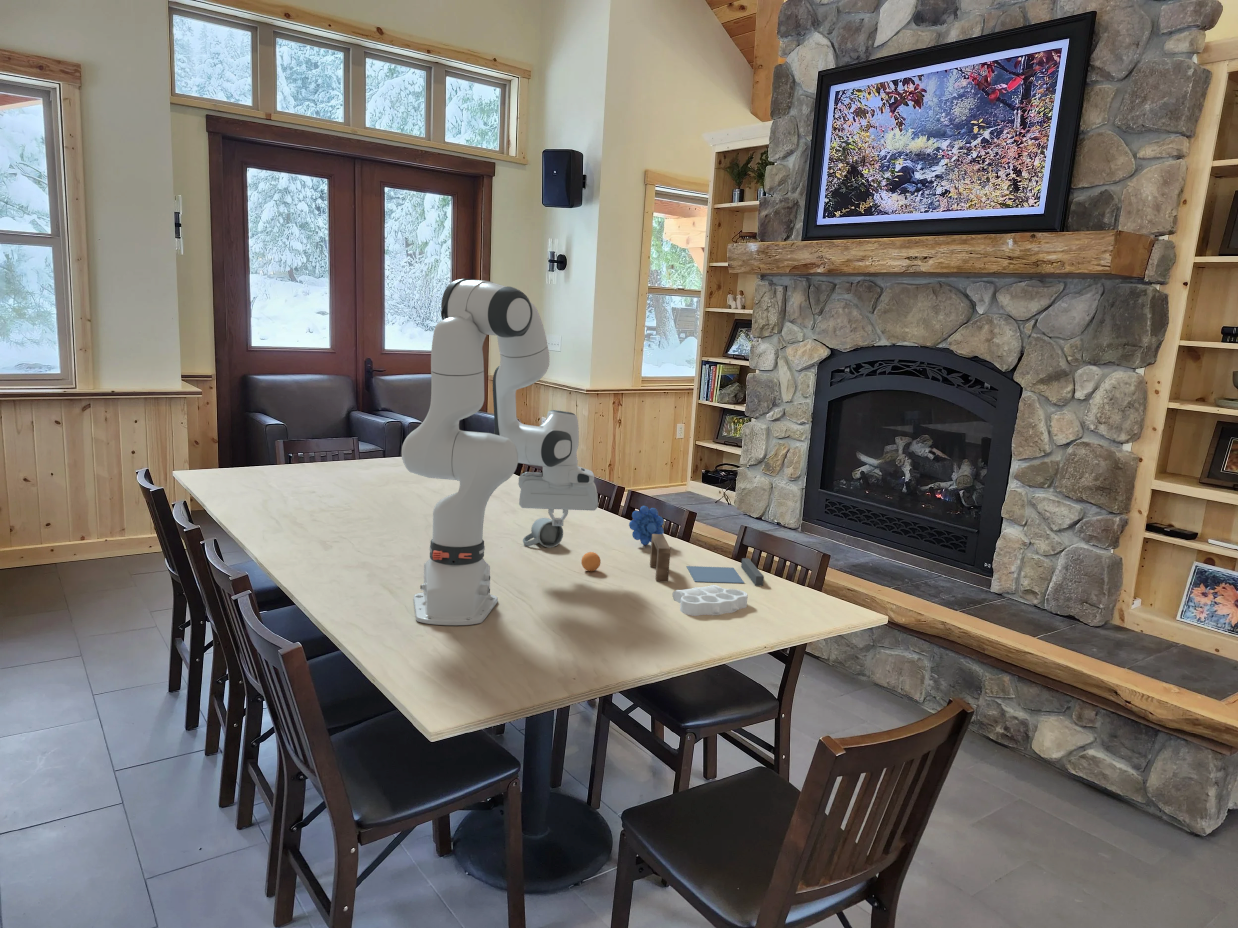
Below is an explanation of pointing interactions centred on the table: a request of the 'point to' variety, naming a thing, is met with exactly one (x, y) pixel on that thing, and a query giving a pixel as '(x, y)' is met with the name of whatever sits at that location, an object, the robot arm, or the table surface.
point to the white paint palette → (710, 600)
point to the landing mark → (714, 574)
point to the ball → (591, 561)
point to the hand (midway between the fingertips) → (557, 525)
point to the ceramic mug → (544, 533)
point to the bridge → (660, 557)
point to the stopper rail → (752, 572)
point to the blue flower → (646, 524)
